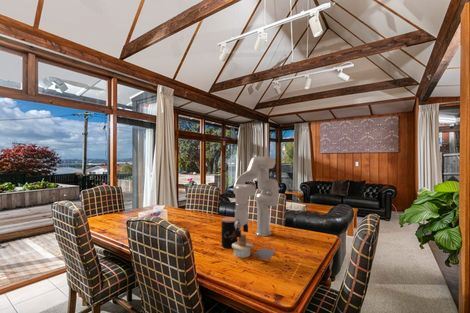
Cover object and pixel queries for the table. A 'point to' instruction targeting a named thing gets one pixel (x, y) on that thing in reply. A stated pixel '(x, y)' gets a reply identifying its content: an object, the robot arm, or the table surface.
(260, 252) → the mat
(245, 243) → the lid
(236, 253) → the bowl
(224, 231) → the coffee jar
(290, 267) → the table surface
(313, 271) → the table surface
